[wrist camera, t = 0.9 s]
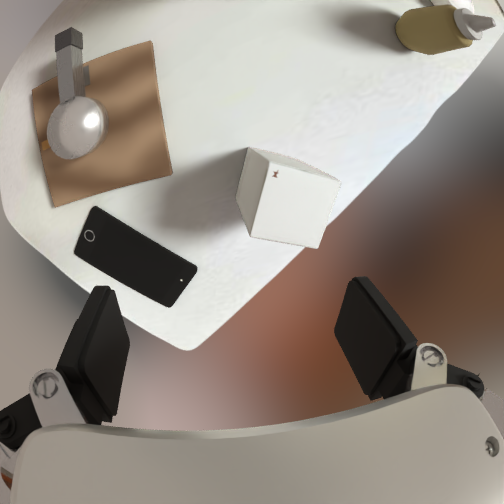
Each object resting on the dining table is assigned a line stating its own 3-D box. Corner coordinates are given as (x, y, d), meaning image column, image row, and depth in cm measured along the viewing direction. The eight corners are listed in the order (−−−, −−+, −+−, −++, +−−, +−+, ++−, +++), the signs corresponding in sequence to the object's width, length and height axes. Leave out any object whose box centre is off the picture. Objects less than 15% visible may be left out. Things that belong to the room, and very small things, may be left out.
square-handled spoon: (114, 145, 26) (104, 148, 23) (65, 162, 25) (53, 167, 23) (99, 26, 18) (90, 18, 16) (51, 48, 18) (39, 44, 15)
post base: (37, 90, 23) (22, 89, 19) (152, 43, 24) (146, 35, 21) (59, 204, 31) (46, 213, 28) (172, 172, 33) (168, 179, 29)
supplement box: (233, 199, 36) (246, 238, 25) (247, 145, 33) (268, 157, 22) (285, 210, 37) (318, 251, 26) (301, 159, 34) (344, 180, 23)
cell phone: (95, 203, 33) (92, 205, 32) (199, 266, 40) (199, 269, 39) (75, 250, 35) (73, 253, 35) (170, 305, 42) (170, 309, 42)
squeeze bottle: (414, 65, 29) (503, 63, 13) (381, 28, 26) (467, 5, 10) (431, 41, 26) (512, 36, 11) (400, 6, 23) (479, -15, 8)
